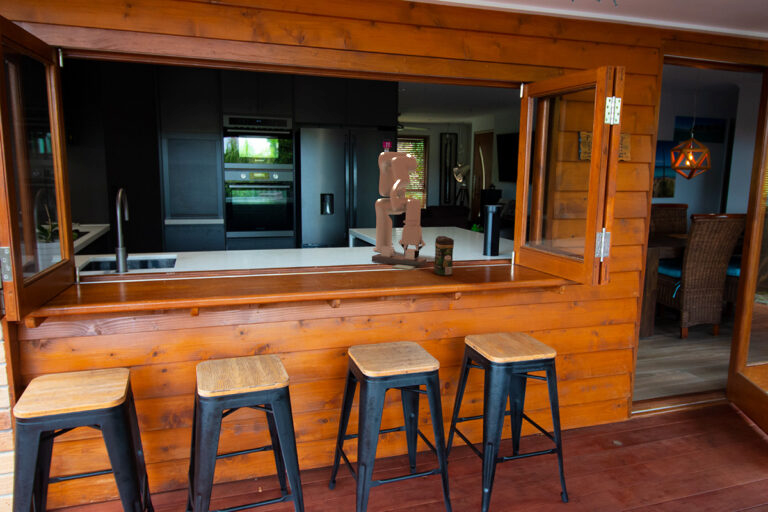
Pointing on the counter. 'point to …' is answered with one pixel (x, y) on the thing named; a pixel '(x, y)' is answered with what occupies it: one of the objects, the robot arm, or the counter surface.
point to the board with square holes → (399, 260)
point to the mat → (403, 267)
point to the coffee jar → (443, 255)
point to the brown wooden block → (387, 251)
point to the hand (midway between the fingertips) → (411, 257)
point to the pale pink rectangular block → (410, 254)
